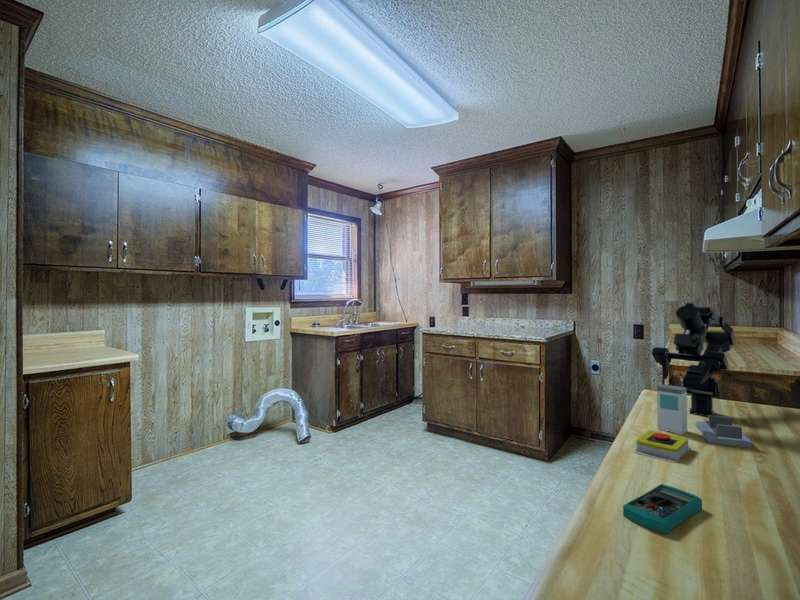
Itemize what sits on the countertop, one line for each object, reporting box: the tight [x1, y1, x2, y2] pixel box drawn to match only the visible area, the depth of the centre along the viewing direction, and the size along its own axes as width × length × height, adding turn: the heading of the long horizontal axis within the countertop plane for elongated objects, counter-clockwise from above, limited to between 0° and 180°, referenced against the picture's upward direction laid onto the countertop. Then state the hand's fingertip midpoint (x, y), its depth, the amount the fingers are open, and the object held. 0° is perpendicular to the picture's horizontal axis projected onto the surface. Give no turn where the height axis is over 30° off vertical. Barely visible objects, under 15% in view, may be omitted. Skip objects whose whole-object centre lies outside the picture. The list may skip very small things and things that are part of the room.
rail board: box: [695, 420, 753, 449], centre depth 112 cm, size 15×9×2 cm, turn 154°
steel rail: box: [703, 420, 742, 441], centre depth 112 cm, size 15×5×1 cm, turn 154°
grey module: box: [656, 383, 688, 435], centre depth 118 cm, size 5×6×12 cm
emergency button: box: [633, 430, 692, 463], centre depth 104 cm, size 9×4×15 cm
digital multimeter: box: [622, 483, 703, 535], centre depth 74 cm, size 7×15×3 cm, turn 123°
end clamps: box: [708, 415, 743, 439], centre depth 110 cm, size 10×5×3 cm, turn 154°
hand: (682, 380), depth 122 cm, fingers open, 9 cm apart
